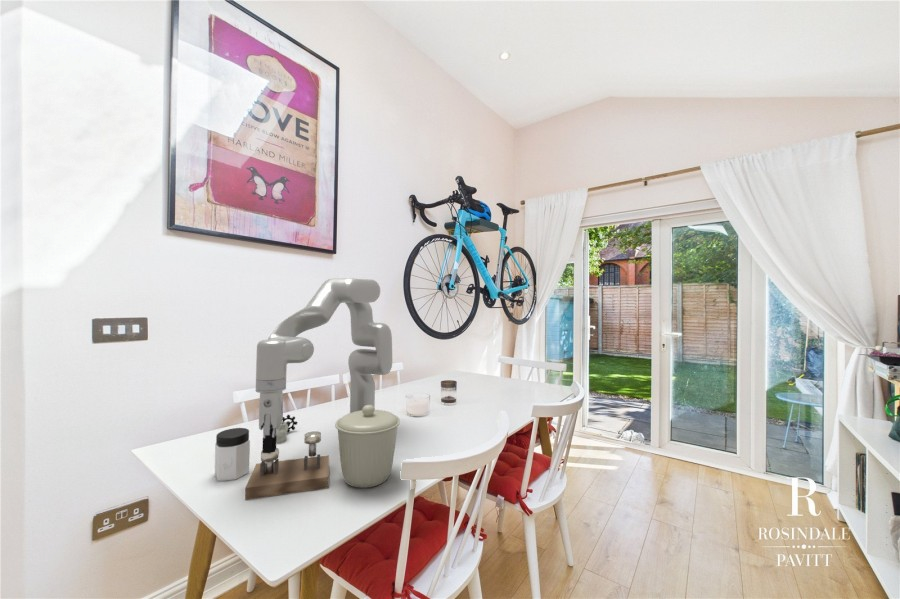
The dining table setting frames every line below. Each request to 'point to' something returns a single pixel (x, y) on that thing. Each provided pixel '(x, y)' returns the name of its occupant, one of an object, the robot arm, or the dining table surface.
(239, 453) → the jar
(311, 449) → the knob
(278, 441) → the valve
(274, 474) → the mount board
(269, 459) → the knob
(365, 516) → the dining table surface
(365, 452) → the canister
